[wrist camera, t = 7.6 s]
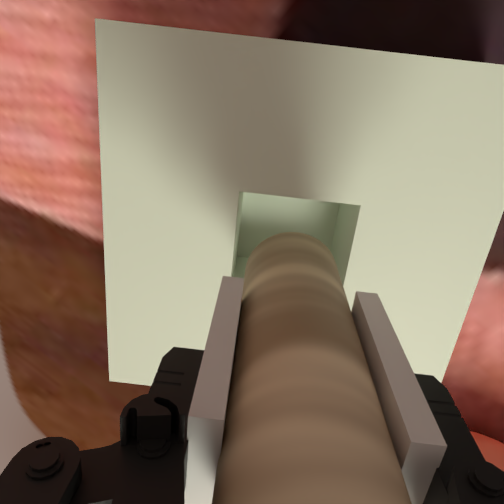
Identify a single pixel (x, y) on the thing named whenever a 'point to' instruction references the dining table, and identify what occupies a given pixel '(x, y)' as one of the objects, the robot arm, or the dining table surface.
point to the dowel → (302, 390)
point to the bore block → (290, 179)
